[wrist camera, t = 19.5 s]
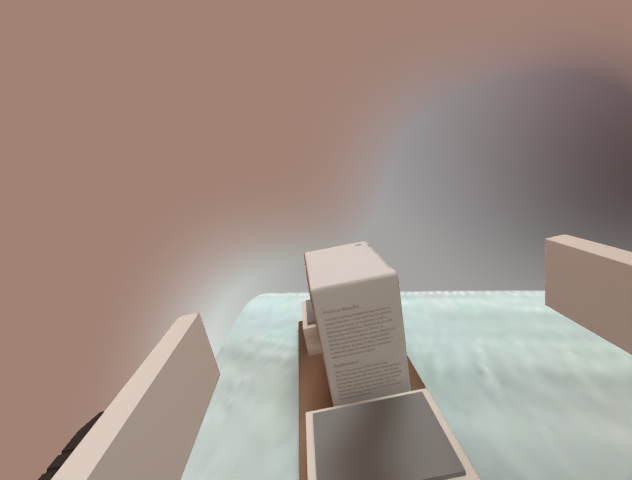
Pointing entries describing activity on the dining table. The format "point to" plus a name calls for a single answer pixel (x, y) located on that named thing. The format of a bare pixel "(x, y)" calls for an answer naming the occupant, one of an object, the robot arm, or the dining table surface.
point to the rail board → (370, 428)
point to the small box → (358, 322)
